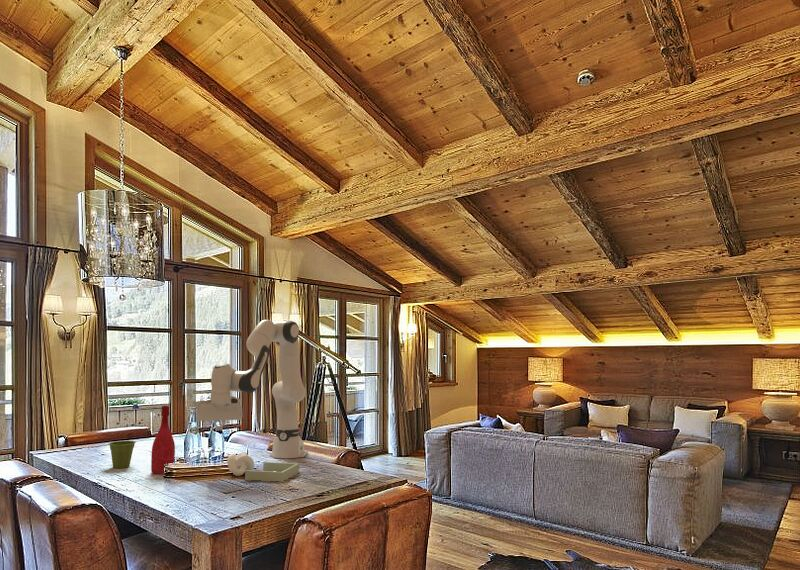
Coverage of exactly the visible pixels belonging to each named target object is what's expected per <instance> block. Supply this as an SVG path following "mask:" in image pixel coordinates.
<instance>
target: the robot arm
mask: <svg viewBox="0 0 800 570" xmlns="http://www.w3.org/2000/svg"><path fill="white" fill-rule="evenodd" d="M299 335H300V327H299V325H298V323H297V322H296V321H293V320H273V321H272V320H270V319H263V320H261V321H259V323H258V324H256V326H255V327H254V329H253V330H252V331H251V333H250V334H249V336H248V337H247V339H246V343H245V344H246V346H245V347H246V349H247V351H248V352H249V353H250V354H251V355H252V356H253V357H255V358H254V360H253V363H252V365H251V367H250V369H248V370H237V369H235V368H233V367H232V366H231V364H229V363H219V364H216V365H214V366H213V368H212V372H211V378H210V379H211V381H210V383H211V384H210V385H211V390H210V399H200V400H198V401H197V402H196V404H195V405H196V406H195V408H196V418H195V419H196V421H198V422H207V421H212V422H213V424H214V426H215V432H216V431H218V432H219V431H223V430H224V429H223V427H224V426H225V424H226V421H240V420H242V419H243V416H244V415H243V406H242V405H241V404H240V403H241V399H240V398H239V397H236V396H233V395H231V394H232V393H231V392H237V393H239V392H240V393H245V394H252V393H254V392H256V391H257V390H258V388H259V386H260V383H261V379H262V375H263V373H264V371H265V368H266V366H267V363H268V361H269V357H270V353H271V352H270V345H271V344H272V342H274V343H278V344H279V346H278V347H279V348H278V366H277V367H278V372H279V373H280V378H281V380H280V381H277V382H276V383H274V384H273V385H272V389H271V394H272V396H273V398H274V402H275V408H276V429H275V437H274V438H273V440H272V441H273V442H272V448H271V449H272V450H271V453H269V456H271V457H272V458H276V459H295V458H304V457H306V455H307V454H308V453H309V451H308V450H306V449H305V448H304V447H305V446H304V444H305V443H304V440H303V439H302V438H301V436H300V433H301V428H300V427H299V412H298V410H297V406H296V403H299V402H301V401H303V400H304V398H305V397H306V394H307V391H306V388H305V386H304V384H303V381H302V377H301V376H302V375H301V368H300V367H301V366H300V362H301V360H300V358H301V357H300V354H301V351H300V349H301V348H300V341H299ZM218 421H221V425H218V424H217V423H218Z"/></svg>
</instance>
